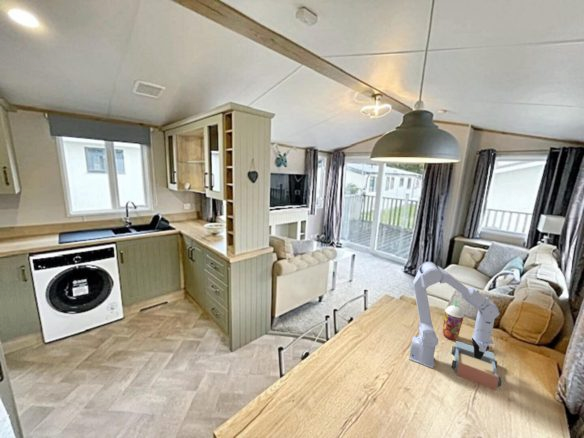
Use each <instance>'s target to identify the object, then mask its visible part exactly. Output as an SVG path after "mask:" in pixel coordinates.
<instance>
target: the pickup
mask: <svg viewBox="0 0 584 438" xmlns="http://www.w3.org/2000/svg"><path fill="white" fill-rule="evenodd" d="M451 354H452V355H454V359H452V362H451V368H452V369H454V373H455V374H456V373H457V368H458V363H459V362H460V363H463V364H465V365H468V366H471V367H474V368H476V369H479V370H482V371H485V372H487V373H490V374H493V375H496V376H498V377H499V378H498V382H497V387H496V388H497V389H498V386H500V387H501V385H502V377H501V376H499V374H498V371H497V367H498V360H496V359H495V354H494V352H492V351H489V350H487V351H486V352H485V353H484V354H483V356H482V358H481V359H477V358H475V357H474V346H473V345H470V344H467V343H465V342H461V341H458V340H455V346H454V345H452V347H451Z"/></svg>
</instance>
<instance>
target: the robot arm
mask: <svg viewBox="0 0 584 438" xmlns="http://www.w3.org/2000/svg"><path fill="white" fill-rule="evenodd" d="M437 283H440V284H448V286H451V287H452V288H453V289H454V290H456V291H458V293H460V294H461V297H462V299H463V300H464V301H466V302H467V303H468V304H470V305H471V306H473V307H474V308H475V309H477V314H476V319H475V322H474V323H475V324H474V329H473V333H472V335H471V337H472V338H471V342H472V346H474V357H475V358H477V359H481V358H482V356H483V354H484V353H485V352H486V351H489V350H490V347H489V345H494V340H492V339H491V338H492V333H493V329H494V325H495V324H494V323H495V319H497V318H498V317H499V316H500V312H499V308H498V306H496V304H495V303H494V302H493V301H492V300H490V298H489V297H487V296H484V295H483V294H481V292H480V290H479V289H477V288H473V287H469V286H466V285H465V284H463V283H462V282H460V281H459V280H458V279H457V278H455V277H454V276H453V275H452V274H450V273H449V272H448V271H446V269H444V268H442V267H441V266H439V265H436V264H435V263H434V262H432V261H425V262H423V263H422V264H421V265H420V266H419V267H418V270H417V273H416V275H415V276H414V279H413V280H412V285H413V290H414V297H415V302H416V308H417V313H418V314H417V315H418V319H419V320H418V322H419V325H418V328H417V329H418V332H419V335H418V336H412V340H411V345H410V346H411V347H409V358H408V359H409V360H410V361H413V362H415V363H417V364H419V365H420V364H421V365H424V366H426V367H428V368H431V369H434V365H435V364H434V363H435V352H436V347H437V345H438V344H439V338H438V336H437V335H436V332H435V329H434V325H433V322H432V316H431V309H430V304H429V303H430V302H429V297H428V293H427V289H428V288H429V287H430V286H433V285H435V284H437Z"/></svg>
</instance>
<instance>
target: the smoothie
mask: <svg viewBox="0 0 584 438" xmlns="http://www.w3.org/2000/svg"><path fill="white" fill-rule="evenodd" d="M443 316H444V317H443V326H442V334H443V337H444V336H445V337H444V338H446V339H447V338H448V340H450V341H457V340H458V338H459V335H460V331H461V328H462V324H463V321H464V317H465V314H464V312H463V310H462V308H461V307H459V306H458V300H455V304H451V305H449V306H447V307H446V308H445V309H444V315H443Z"/></svg>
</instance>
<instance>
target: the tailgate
mask: <svg viewBox="0 0 584 438" xmlns="http://www.w3.org/2000/svg"><path fill="white" fill-rule="evenodd" d="M455 374H456V376H458V377H461V378H463V379H466V380H469V381H471V382H475V383H477V384H479V385H482V386H484V387H487V388H489V389H492V390H495V391H496V390H497V389H496V387H497V388H498V386H497V382H498V378H499V377H500V376H499V375H498V376H499V377H498V376H496V375H493V374H490V373H487V372H485V371H482V370H479V369H476V368H474V367H471V366H468V365H465V364H463V363H460V362H459V363H458V368H457V373H455Z"/></svg>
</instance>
